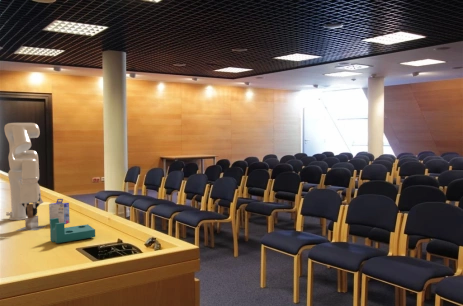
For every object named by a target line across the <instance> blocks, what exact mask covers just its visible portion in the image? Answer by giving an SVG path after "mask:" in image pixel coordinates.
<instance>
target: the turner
mask: <svg viewBox="0 0 463 306" xmlns="http://www.w3.org/2000/svg"><path fill="white" fill-rule="evenodd" d="M27 216H28V218H25V219H24V220H25V221H24V222H25V225H24V227H26V231H32V230H31V229H34V228H36V227H38V226H39V215H34V216H33V203H29V204H28V205H27Z"/></svg>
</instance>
